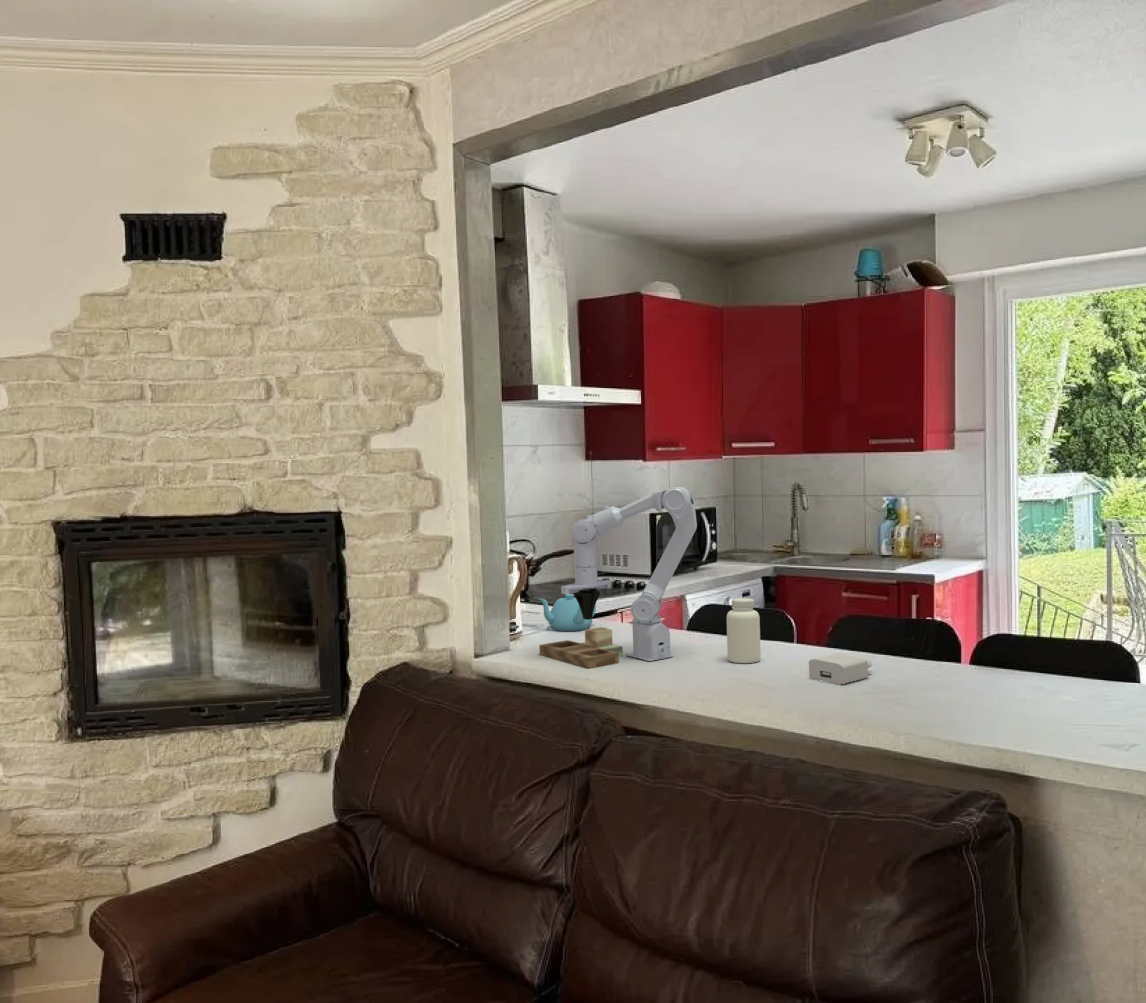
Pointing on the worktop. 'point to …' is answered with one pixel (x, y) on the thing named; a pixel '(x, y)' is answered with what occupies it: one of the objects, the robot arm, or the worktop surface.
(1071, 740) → the worktop surface
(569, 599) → the teapot
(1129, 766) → the worktop surface
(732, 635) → the pill bottle
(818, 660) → the charger
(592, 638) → the birch block
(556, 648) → the tray
